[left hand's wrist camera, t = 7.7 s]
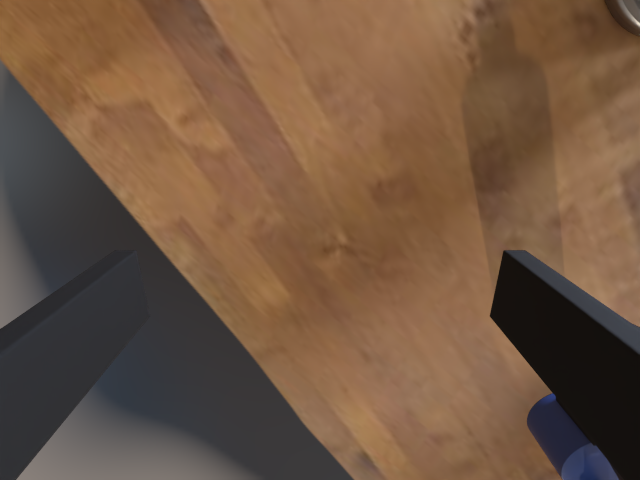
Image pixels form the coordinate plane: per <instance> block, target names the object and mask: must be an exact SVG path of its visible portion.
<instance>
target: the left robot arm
mask: <svg viewBox="0 0 640 480" xmlns="http://www.w3.org/2000/svg"><path fill="white" fill-rule="evenodd" d="M605 2H606V4H607V7H608V9H609V11H610V12H611V14H612V16H613V17H614V18H615V20H616V21H617V22H618V23H619V24H620V25H621V26H622V27H623V28H625V29H626V30H627V31H629V32H631V33H633V34H635V35H638V36H640V0H605ZM149 317H150V313H149V308H148V304H147V299H146V294H145V289H144V285H143V280H142V275H141V270H140V266H139V261H138V256H137V252H136V250H115V251H113V252H112V253H110V254H109V255H107V256H106V257H105V258H103V259H102V260H100V261H99V262H97V263H96V264H94V265H93V266H92V267H90V268H89V269H87V270H86V271H84V272H83V273H81V274H80V275H78V276H77V277H76V278H74V279H73V280H71V281H70V282H68V283H67V284H65V285H64V286H62V287H61V288H60V289H58V290H57V291H55V292H54V293H52V294H51V295H49V296H48V297H46V298H45V299H44V300H42V301H41V302H39V303H38V304H36V305H35V306H33V307H32V308H30V309H29V310H28V311H26V312H25V313H23V314H22V315H20V316H19V317H17V318H16V319H15V320H13V321H12V322H10V323H9V324H7V325H6V326H4V327H3V328H1V329H0V480H16V479H17V478H18V477H19V475H20V474H21V473H22V472H23V471H24V469H25V468H26V467H27V466H28V464H29V463H30V462H31V461H32V459H33V458H34V457H35V456H36V455H37V453H38V452H39V451H40V450H41V449H42V447H43V446H44V445H45V444H46V442H47V441H48V440H49V439H50V438H51V436H52V435H53V434H54V433H55V432H56V430H57V429H58V428H59V427H60V425H61V424H62V423H63V422H64V421H65V419H66V418H67V417H68V416H69V414H70V413H71V412H72V411H73V410H74V408H75V407H76V406H77V405H78V404H79V402H80V401H81V400H82V399H83V397H84V396H85V395H86V394H87V393H88V391H89V390H90V389H91V388H92V386H93V385H94V384H95V383H96V382H97V380H98V379H99V378H100V377H101V375H102V374H103V373H104V372H105V371H106V369H107V368H108V367H109V366H110V365H111V363H112V362H113V361H114V360H115V358H116V357H117V356H118V355H119V354H120V352H121V351H122V350H123V349H124V347H125V346H126V345H127V344H128V343H129V341H130V340H131V339H132V338H133V336H134V335H135V334H136V333H137V332H138V330H139V329H140V328H141V327H142V326H143V324H144V323H145V322H146V321H147V319H148V318H149ZM490 317H491V318H492V319H493V321H494V322H495V323H496V324H497V326H498V327H499V328H500V329H501V330H502V332H503V333H504V334H505V335H506V336H507V338H508V339H509V340H510V341H511V343H512V344H513V345H514V346H515V347H516V349H517V350H518V351H519V352H520V354H521V355H522V356H523V357H524V358H525V360H526V361H527V362H528V363H529V365H530V366H531V367H532V368H533V369H534V371H535V372H536V373H537V374H538V375H539V377H540V378H541V379H542V380H543V382H544V383H545V384H546V385H547V386H548V388H549V389H550V390H551V391H552V393H553V394H554V395H555V396H556V397H557V399H558V400H559V401H560V402H561V404H562V405H563V406H564V407H565V408H566V410H567V411H568V412H569V413H570V414H571V416H572V417H573V418H574V419H575V421H576V422H577V423H578V424H579V425H580V427H581V428H582V429H583V430H584V432H585V433H586V434H587V435H588V436H589V438H590V439H591V440H592V441H593V443H594V444H595V445H596V446H597V447H598V449H599V450H600V451H601V452H602V453H603V455H604V456H605V457H606V458H607V460H608V461H609V462H610V463H611V464H612V466H613V467H614V468H615V469H616V471H617V472H618V473H619V474H620V475H621V477H622V478H623V479H624V480H640V327H638V326H636V325H634V324H632V323H630V322H628V321H627V320H626V319H624V318H623V317H621V316H620V315H618V314H617V313H615V312H614V311H612V310H611V309H610V308H608V307H607V306H605V305H604V304H602V303H601V302H599V301H598V300H596V299H595V298H594V297H592V296H591V295H589V294H588V293H586V292H585V291H583V290H582V289H580V288H579V287H578V286H576V285H575V284H573V283H572V282H570V281H569V280H567V279H566V278H565V277H563V276H562V275H560V274H559V273H557V272H556V271H554V270H553V269H551V268H550V267H549V266H547V265H546V264H544V263H543V262H541V261H540V260H538V259H537V258H535V257H534V256H533V255H531V254H530V253H528V252H527V251H525V250H504V251H503V256H502V261H501V266H500V270H499V275H498V280H497V285H496V289H495V294H494V299H493V304H492V308H491V313H490Z"/></svg>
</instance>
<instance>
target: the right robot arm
mask: <svg viewBox="0 0 640 480" xmlns="http://www.w3.org/2000/svg"><path fill="white" fill-rule="evenodd" d="M556 401H557V402H558V403H559V404H560V406H561V407H562V408H563V409H564V411H565V412H566V413H567V414H568V415H569V417H570V418H571V419H572V420H573V421H574V423H575V424H576V425H577V426H578V427H579V429H580V430H581V431H582V432H583V434H584V435H585V436H586V437H587V438H588V440H589V441H590V442H591V443H592V444H593V446H596V445H595V444H594V443H593V441H592V440H591V439H590V438H589V436H588V435H587V434H586V433H585V432H584V430H583V429H582V428H581V427H580V425H579V424H578V423H577V422H576V421H575V419H574V418H573V417H572V416H571V414H570V413H569V412H568V411H567V410H566V408H565V407H564V406H563V405H562V404H561V402H560V401H559V400H558V399H557V397H556ZM608 462H609V461H608ZM609 463H610V462H609ZM610 465H611V467H612V468H613V470H614V472H615V473H616V475H617V477H618V479H619V480H624V479H623V478H622V477H621V475H620V474H619V473H618V472H617V471H616V469H615V468H614V467H613V466H612V464H611V463H610Z"/></svg>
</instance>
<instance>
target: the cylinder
mask: <svg viewBox="0 0 640 480" xmlns="http://www.w3.org/2000/svg"><path fill="white" fill-rule="evenodd" d="M527 425H528V428H529V430H530V431H531V433H532V434H533V436H534V437H535V439H536V440H537V442H538V443H539V445H540V446H541V448H542V449H543V451H544V452H545V454H546V455H547V457H548V458H549V460H550V461H551V463H552V464H553V466H554V467H555V469H556V470H557V472H558V473H559V475H560V476H561V478H562V479H563V480H619V479H618V477H617V475H616V473H615V472H614V470H613V468H612V467H611V465H610V463H609V462H608V460H607V458H606V457H605V456H604V455H603V453H602V452H601V451H600V450H599V449H598V447H597V446H593V444H592V443H591V442H590V441H589V440H588V438H587V437H586V436H585V435H584V434H583V432H582V431H581V430H580V429H579V427H578V426H577V425H576V424H575V423H574V421H573V420H572V419H571V418H570V417H569V415H568V414H567V413H566V412H565V411H564V409H563V408H562V407H561V406H560V404H559V403H558V402H557V401H556V396H555V395H554V394H553V393H552V394H550V395H547V396H546V397H544V398H542V399H541V400H539V401H538V402H537V403H536V404H535V405H534V406H533V407H532V408H531V410H530V412H529V414H528V417H527Z"/></svg>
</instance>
